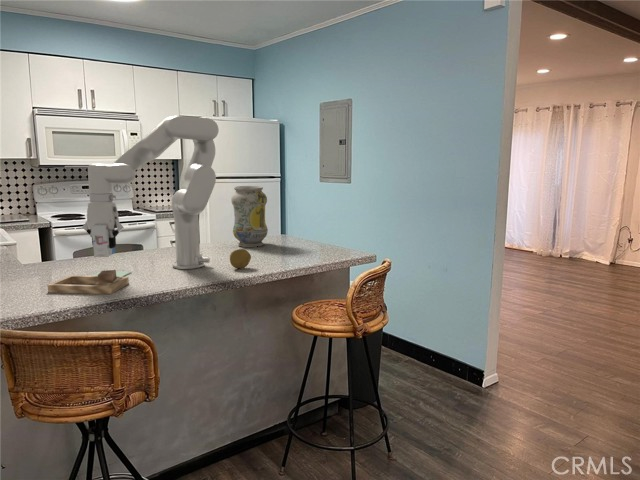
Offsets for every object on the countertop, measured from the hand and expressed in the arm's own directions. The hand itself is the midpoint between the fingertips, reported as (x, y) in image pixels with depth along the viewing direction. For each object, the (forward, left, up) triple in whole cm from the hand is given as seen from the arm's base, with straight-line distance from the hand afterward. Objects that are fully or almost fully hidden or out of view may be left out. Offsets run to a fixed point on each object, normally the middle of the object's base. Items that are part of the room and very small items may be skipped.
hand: (104, 247), depth 171 cm
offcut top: (-9, +15, -9) cm, 19 cm away
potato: (-46, -18, -12) cm, 51 cm away
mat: (0, 0, -11) cm, 11 cm away
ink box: (0, 0, -3) cm, 3 cm away
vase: (-39, -69, -12) cm, 80 cm away
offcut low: (-9, +15, -12) cm, 21 cm away
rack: (-2, +15, -11) cm, 19 cm away
